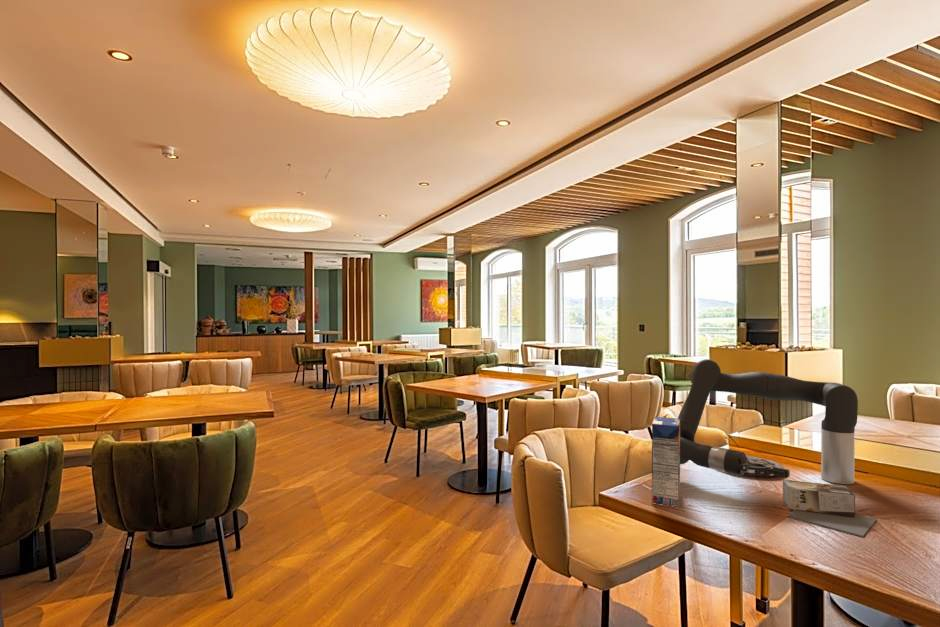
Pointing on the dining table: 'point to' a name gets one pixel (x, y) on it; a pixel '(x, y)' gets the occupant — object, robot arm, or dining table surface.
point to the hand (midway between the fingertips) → (788, 473)
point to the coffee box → (819, 498)
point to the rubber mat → (836, 521)
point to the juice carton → (666, 461)
